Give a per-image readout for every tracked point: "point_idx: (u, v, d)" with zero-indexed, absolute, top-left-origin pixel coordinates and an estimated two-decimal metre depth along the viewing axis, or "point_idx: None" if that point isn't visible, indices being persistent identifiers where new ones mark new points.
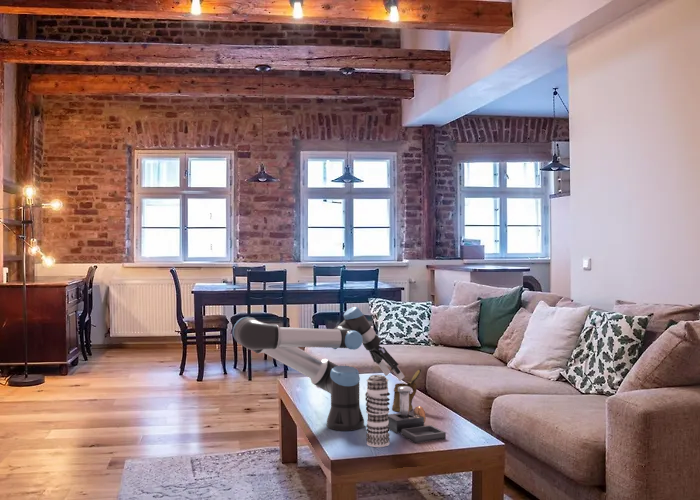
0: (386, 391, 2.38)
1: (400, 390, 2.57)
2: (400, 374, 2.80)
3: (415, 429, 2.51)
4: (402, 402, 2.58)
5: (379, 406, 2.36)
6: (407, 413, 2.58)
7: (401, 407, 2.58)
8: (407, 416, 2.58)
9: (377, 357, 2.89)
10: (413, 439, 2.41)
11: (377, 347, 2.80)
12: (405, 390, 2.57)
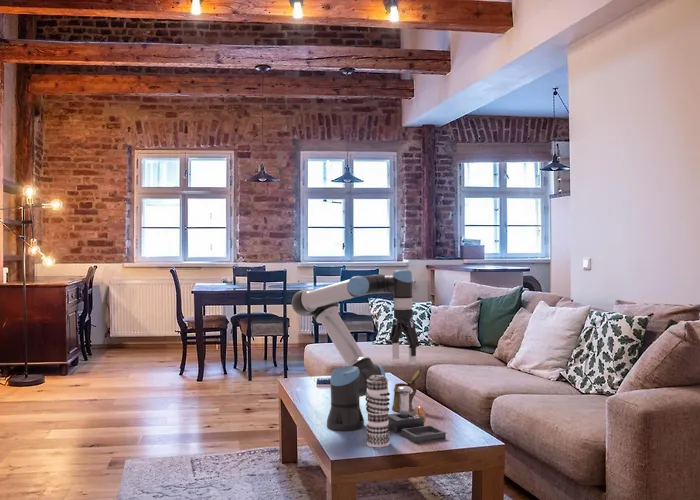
0: (386, 391, 2.38)
1: (400, 390, 2.57)
2: (413, 358, 2.54)
3: (415, 429, 2.51)
4: (402, 402, 2.58)
5: (379, 406, 2.36)
6: (407, 413, 2.58)
7: (401, 407, 2.58)
8: (407, 416, 2.58)
9: (397, 334, 2.64)
10: (413, 439, 2.41)
11: (407, 319, 2.57)
12: (405, 390, 2.57)
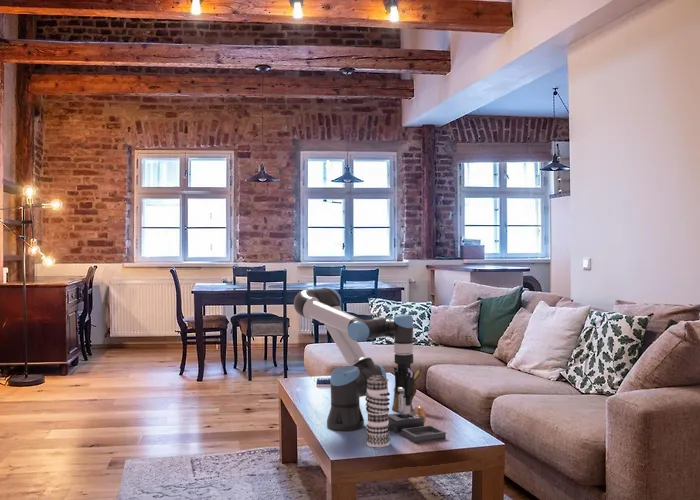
0: (386, 391, 2.38)
1: (400, 390, 2.57)
2: (408, 408, 2.57)
3: (415, 429, 2.51)
4: (402, 402, 2.58)
5: (379, 406, 2.36)
6: None
7: (401, 407, 2.58)
8: (407, 416, 2.58)
9: (401, 382, 2.61)
10: (413, 439, 2.41)
11: (407, 365, 2.56)
12: None
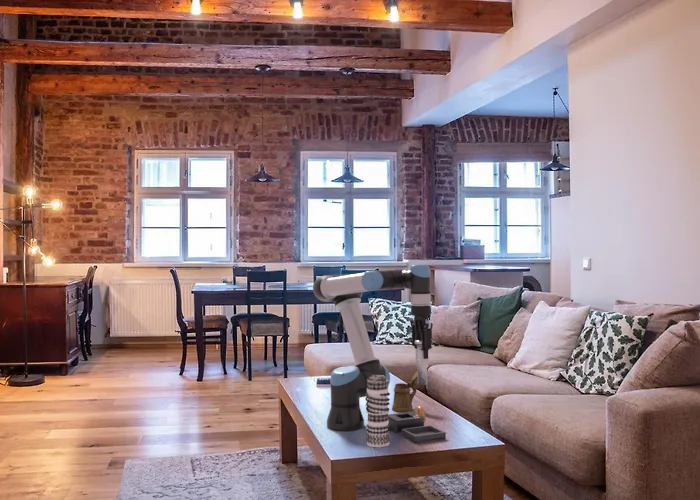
0: (386, 391, 2.38)
1: (417, 343, 2.46)
2: (426, 361, 2.46)
3: (415, 429, 2.51)
4: (420, 355, 2.46)
5: (379, 406, 2.36)
6: (425, 367, 2.46)
7: (419, 361, 2.47)
8: (425, 370, 2.46)
9: (418, 335, 2.49)
10: (413, 439, 2.41)
11: (425, 316, 2.44)
12: None
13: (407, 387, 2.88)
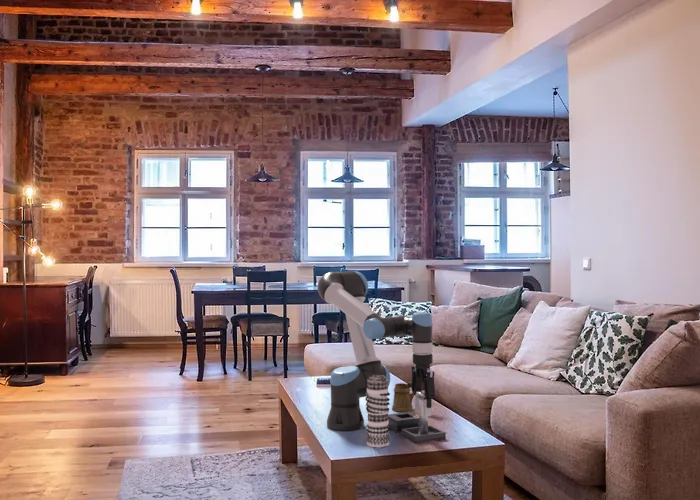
0: (386, 391, 2.38)
1: (419, 395, 2.45)
2: (429, 410, 2.44)
3: (415, 429, 2.51)
4: (421, 407, 2.46)
5: (379, 406, 2.36)
6: (426, 419, 2.46)
7: (420, 413, 2.46)
8: (426, 422, 2.46)
9: (418, 382, 2.49)
10: (413, 439, 2.41)
11: (426, 365, 2.44)
12: (424, 395, 2.45)
13: (407, 387, 2.88)
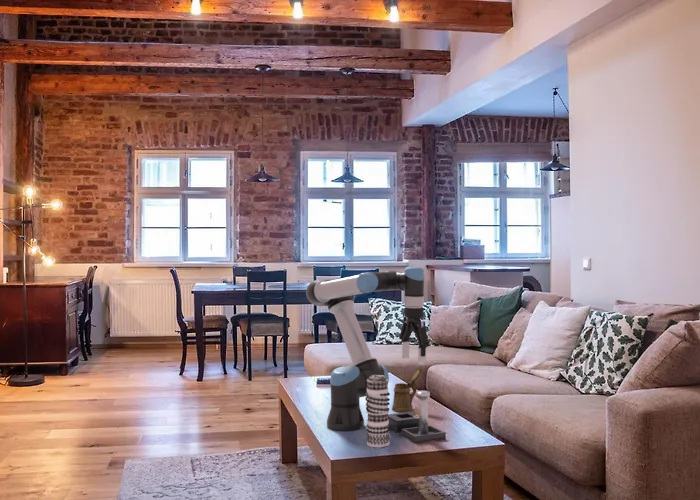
0: (386, 391, 2.38)
1: (419, 395, 2.45)
2: (423, 359, 2.47)
3: (415, 429, 2.51)
4: (421, 408, 2.45)
5: (379, 406, 2.36)
6: (426, 419, 2.46)
7: (420, 413, 2.46)
8: (426, 422, 2.46)
9: (407, 333, 2.57)
10: (413, 439, 2.41)
11: (417, 318, 2.49)
12: (424, 395, 2.44)
13: (407, 387, 2.88)
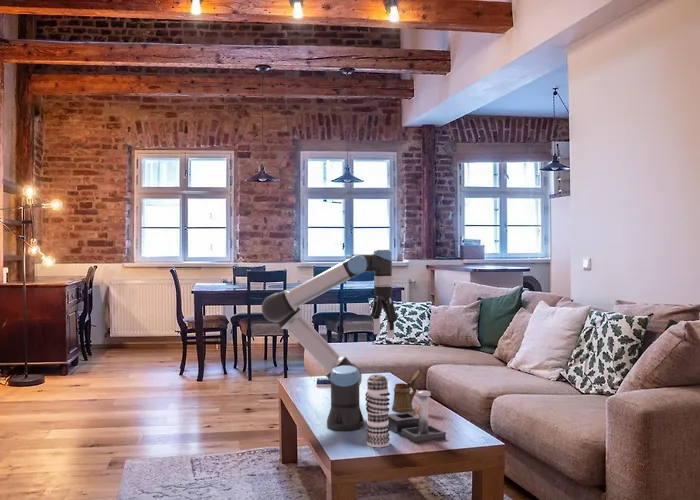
0: (386, 391, 2.38)
1: (420, 394, 2.46)
2: (391, 332, 2.70)
3: (415, 429, 2.51)
4: (421, 407, 2.46)
5: (379, 406, 2.36)
6: (426, 419, 2.46)
7: (420, 412, 2.46)
8: (426, 422, 2.46)
9: (378, 310, 2.80)
10: (413, 439, 2.41)
11: (386, 296, 2.73)
12: (425, 394, 2.45)
13: (407, 387, 2.88)
